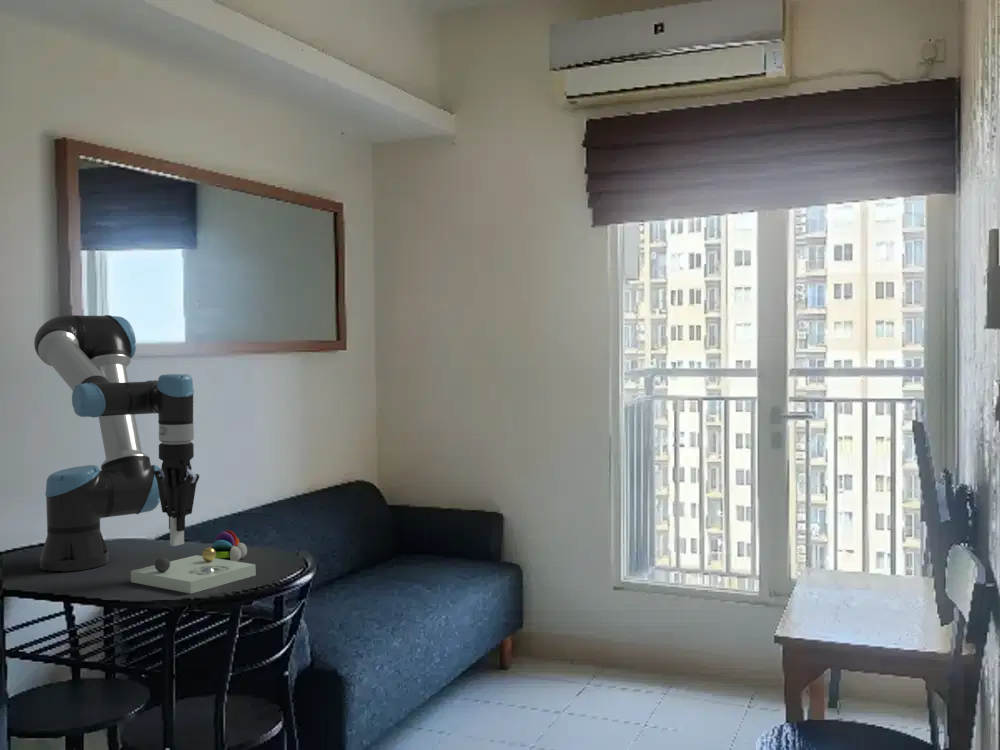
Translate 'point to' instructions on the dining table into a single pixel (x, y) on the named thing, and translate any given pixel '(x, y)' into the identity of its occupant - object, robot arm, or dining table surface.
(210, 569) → the steel ball
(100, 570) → the dining table surface
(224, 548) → the rainbow disc rolling toy
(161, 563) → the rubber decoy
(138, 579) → the pale green flat slab
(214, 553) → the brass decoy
